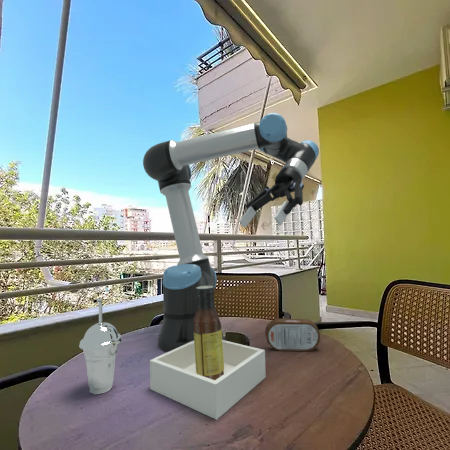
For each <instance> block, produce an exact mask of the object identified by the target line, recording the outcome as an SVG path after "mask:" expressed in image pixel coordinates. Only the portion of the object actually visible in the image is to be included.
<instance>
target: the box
mask: <svg viewBox="0 0 450 450" xmlns="http://www.w3.org/2000/svg"><path fill="white" fill-rule="evenodd" d="M222 343H223V357H224V375H222V376H221V377H219V378H218V379H216V380H212V379H209V378H207V377H204V376H201V375H198V374H197V373H196V362H195V346H194V341H192V342H189V343H187V344H185V345H183V346H180V347H178V348H176V349H174V350H172V351H169V352H168V351H166V352H165V353H163V354H161V355H159V356H158V355H157V356H156V357H154V358H152V359H150V360H149V387H150V388H149V390H151V391H153V392H155V393H158V394H159V395H162V396H164V397H166V398H169V399H170V400H172V401H175V402H177V403H179V404H182V405H184V406H186V407H188V408H189V409H192V410H195V411H197V412H199V413H201V414H203V415H205V416H208V417H210V418H212V419H214V420H216V421H218V419H219V418H220V417H222V416H223V415H224V414H225V413H226V412H227V411H229V409H231V408H232V407H233V406H235V404H236V403H238V402H239V401H241V399H242V398H244V396H246V395H247V394H248V393H249V392H251V390H253V389H254V388H256V386H257V385H258V384H260V383H261V382H262V381H263V380H265V378H266V377H267V375H266V371H267V370H266V350H265V349H263V348H258V347H253V346H249V345H244V344H241V343H236V342H232V341H228V340H224V339H222Z"/></svg>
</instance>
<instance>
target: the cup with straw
mask: <svg viewBox="0 0 450 450" xmlns="http://www.w3.org/2000/svg"><path fill="white" fill-rule="evenodd" d="M92 302H93V303H94V304H97V303H98V322H97V323H95V324H93V325H91V326H90V327H89V328H88V329H87V330H86V332H85V334H84V336H83V338H82V339H80V341H79V345H78V347H79V348H80V349H81V350H82V351H83V352H82V353H83V356H84V359H85V365H86V366H85V367H86V373H87V380H88V381H87V382H88V387H89V393H90V392H91V393H93V394H92V395H102V394H105V393H107V392H108V391H110V390H111V388H112V389H113V387H112V386H113V382H114V378H115V377H114V376H115V369H116V358H117V353H118V348H119V344H121V342H122V340H123V339H122V335H121V334H120V333H119V332H118V330H117V329H116V326H114V325H113V324H112V323H109V322H103V300H102V298H96V299H93V300H92ZM91 393H90V394H91ZM101 393H102V394H101Z"/></svg>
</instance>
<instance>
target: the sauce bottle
mask: <svg viewBox="0 0 450 450" xmlns="http://www.w3.org/2000/svg"><path fill="white" fill-rule="evenodd" d="M214 293H215V288H214V287H213V286H200V287H197V288H196V294H197V301H198V305H197V306H198V309H197V312H196V314H195V317H194V346H195V362H196V373H197V374H198V375H201V376H204V377H207V378H209V379H212V380H216V379H218V378H219V377H221V376H222V375H224V357H223V343H222V340H223V330H222V323H221V320H220V317H219V315H218V312H217V310H216V306H215V297H214V296H215V295H214Z"/></svg>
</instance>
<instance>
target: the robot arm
mask: <svg viewBox="0 0 450 450" xmlns="http://www.w3.org/2000/svg"><path fill="white" fill-rule="evenodd" d="M319 149H320V148H319V146H318V144H317V143H316V142H315V141H313V140H308V139H307V140H302V141H301V142H298V141H295V140H293V139H291V138H289V137H288V125H287V122H286V120H285V118H284V117H283V116H282V115H281V114H279V113H278V112H270V113H267V114H266V115H264V116H263V117H262V118H261V119H260V121H258V122H253V123H250V124H245V125H242V126H237V127H233V128H230V129H225V130H221V131H218V132H213V133H210V134H209V133H208V134H205V135H204V134H203V135H201V136H197V137H192V138H188V139H184V140H181V141H176V140H174V139H171V140H167V141H163V142H159V143H157V144H154V145H153V146H150V148H148V150H146V152H145V153H144V155H143V160H142V165H143V166H142V167H143V169H144V172H145V173H146V175H147V176H148V177H150V178H151V179H153V181H154V180H155V181H157V183H158V188H159V193H160V194H162V195H163V196H164V197H165V200H166V205H167V207H168V213H169V217H170V222H171V226H172V231H173V234H174V239H175V240H174V241H175V244H176V249H177V252H178V257H179V261H178V262H177V264H176V265H172V266H169V267H167V268H166V269H165V270H164V271H163V276H162V277H163V279H162V286H163V287H162V288H163V289H162V296H163V300H162V301H163V321H162V324H161V328H160V333H159V335H158V336H157V337H158V338H157V346H158V348H159V349H160V350H162V351H165V352H169V351H172V350H174V349H176V348H178V347H180V346H183V345H185V344H187V343H189V342H192V341H194V317H195V314H196V312H197V309H198V306H197V305H198V301H197V294H196V288H197V287H200V286H213V287H214V289H215V288H216V286H217V281H218V280H217V279H218V277H217V274H216V271H215V269H214V268H213V267H212V266H211V263H210V258H209V256H207V255H205V253H204V251H203V247H202V244H201V243H202V242H201V239H200V235H199V231H198V227H197V221H196V218H195V214H194V209H193V204H192V200H191V197H190V194H189V193H190V192H189V191H190V189H191V188H192V184H191V180H192V179H191V178H192V168H191V166H190V165H192V164H197V163H202V162H205V161H211V160H214V159H218V158H219V159H220V158H224V157H228V156H233V155H236V154H242V153H245V152H249V151H253V150H254V151H255V150H259V151H260V152H262V153H264V154H266V155H269V156H271V157H273V158H275V159H278V160H279V161H281V162H283V163H284V165H283V166H282V167H281V169H280V170H279V172H278V173H277V174H276V176H275V179H274V184H273V185H272V186H271V187H269V186H268V185H266V186H265V187H264V188H263V189H262V191H260V192H259V193H258V194H257V195H255V197H253V198H252V199H251V200H250V201H249V202H248V203H246V204H245V208H246V209H247V210H246V211H245V212H244V213H243V214H242V216H241V218H240V219H239V223H240V224H241V226H242V227H243V228H244V229H245V228H247V226H249V224H250V222H251V221H252V220H253V218H254V217H255V215H256V214H257V211H258V210H259V209H261V208H263V206H266V205H267V204H269V203H270V202H273V201H275V200H276V199H280V198H284V197H285V198H286V200H285V201H284V202H283V203H282V204H281V206H280V208H279V209H278V211H277V212H276V214H275V215H274V217H273V219H274V220H275V221H276V223H277V225H278V226H282V224H283V223H284V221H285V220H286V218H287V216H288V215H290V213H291V212H292V211H293V209H294V208H295V207H296V206H297V205H298V206H301V205H303V203H304V202H303V200H304V195H303V193H304V192H303V190H304V187H305V185H304V182H303V180H304V178H305V177H306V176H307V175H308V172H309V171H310V169H311V168H312V167H313V165H314V164H315V163H316V160H317V158H318V156H319V154H320V150H319ZM292 193H294V196H293V195H292ZM293 197H294V198H293Z"/></svg>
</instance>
